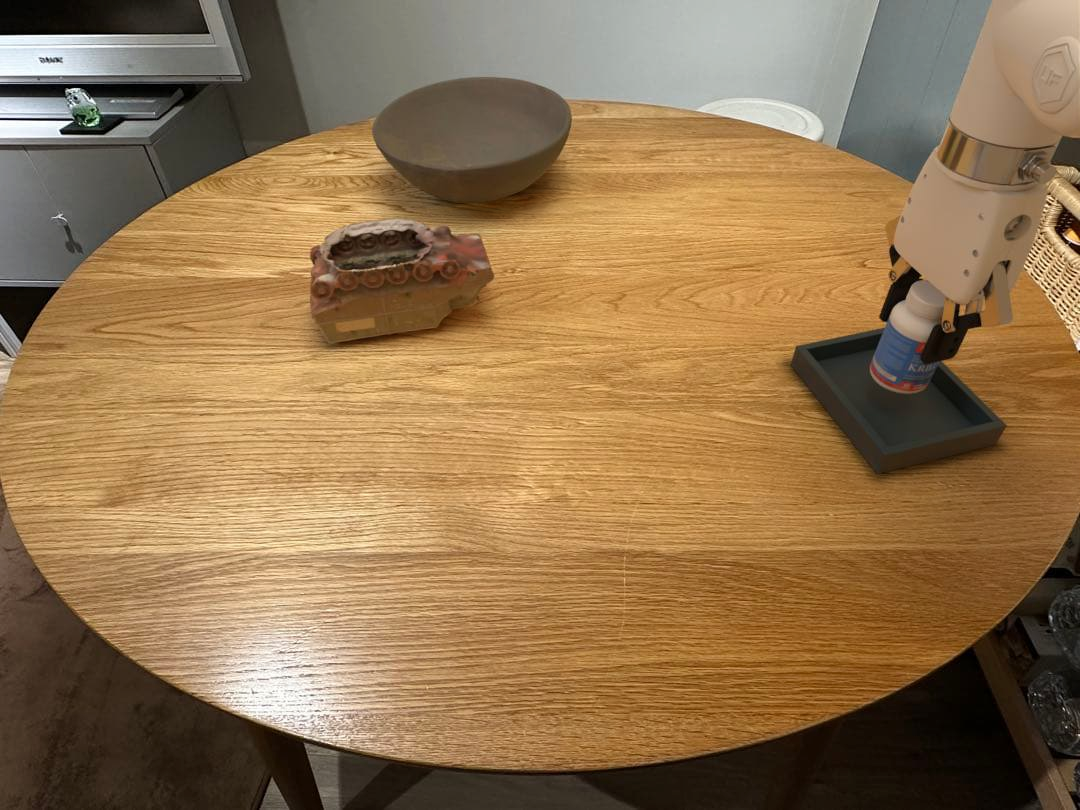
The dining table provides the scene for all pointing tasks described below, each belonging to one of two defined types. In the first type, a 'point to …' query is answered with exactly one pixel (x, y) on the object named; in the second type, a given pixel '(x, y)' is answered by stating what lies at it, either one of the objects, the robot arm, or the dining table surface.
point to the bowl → (474, 136)
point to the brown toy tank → (393, 277)
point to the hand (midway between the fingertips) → (915, 336)
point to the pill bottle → (908, 341)
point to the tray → (894, 406)
